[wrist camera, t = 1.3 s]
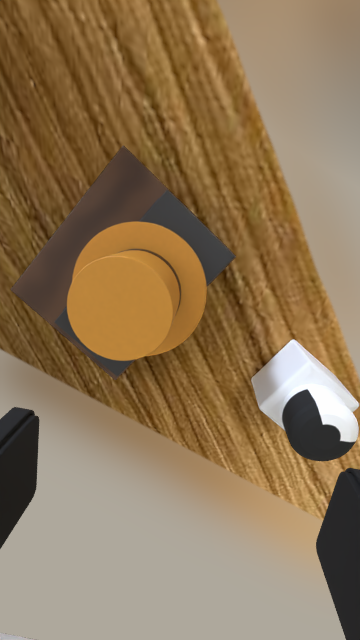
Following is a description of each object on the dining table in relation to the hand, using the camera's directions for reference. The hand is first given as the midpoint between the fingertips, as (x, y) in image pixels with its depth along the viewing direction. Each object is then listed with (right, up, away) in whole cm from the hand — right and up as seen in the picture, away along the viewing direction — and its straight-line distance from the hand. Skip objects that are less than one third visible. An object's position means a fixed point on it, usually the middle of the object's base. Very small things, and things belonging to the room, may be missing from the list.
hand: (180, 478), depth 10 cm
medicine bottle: (+13, -2, +30) cm, 33 cm away
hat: (-3, +7, +13) cm, 14 cm away
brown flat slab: (-6, +11, +28) cm, 31 cm away
